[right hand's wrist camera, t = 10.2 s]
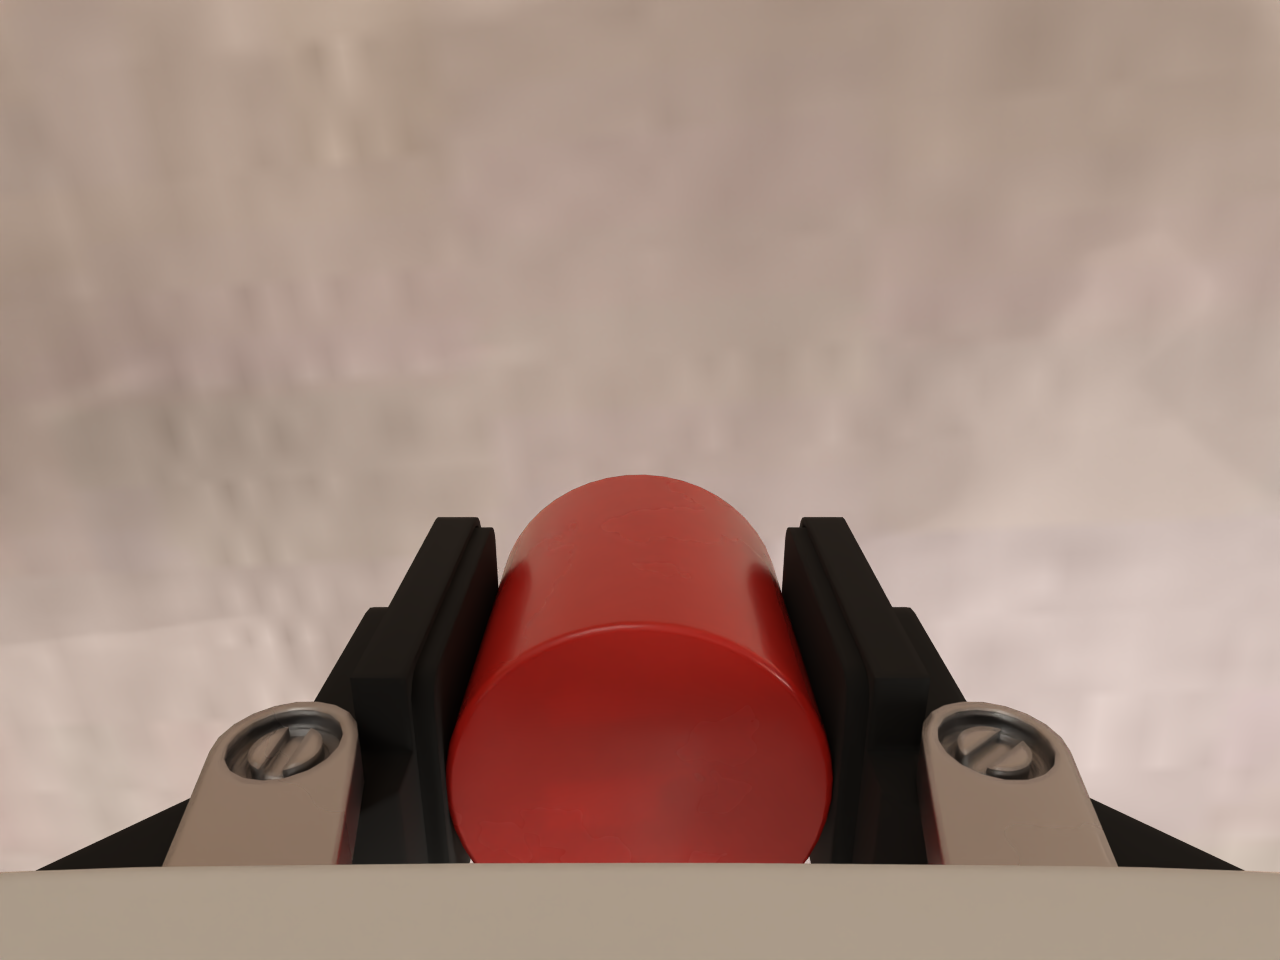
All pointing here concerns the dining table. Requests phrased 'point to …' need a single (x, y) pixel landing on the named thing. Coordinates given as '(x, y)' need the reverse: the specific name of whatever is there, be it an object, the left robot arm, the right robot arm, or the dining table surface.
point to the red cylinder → (639, 692)
